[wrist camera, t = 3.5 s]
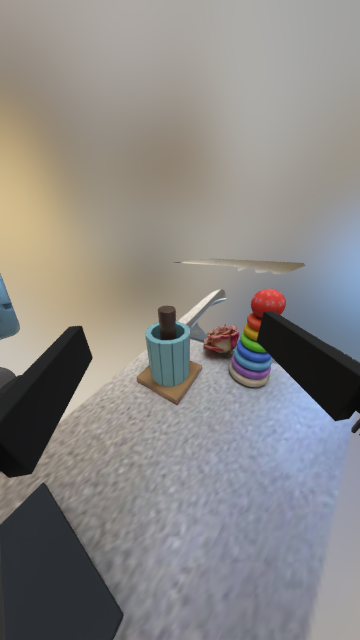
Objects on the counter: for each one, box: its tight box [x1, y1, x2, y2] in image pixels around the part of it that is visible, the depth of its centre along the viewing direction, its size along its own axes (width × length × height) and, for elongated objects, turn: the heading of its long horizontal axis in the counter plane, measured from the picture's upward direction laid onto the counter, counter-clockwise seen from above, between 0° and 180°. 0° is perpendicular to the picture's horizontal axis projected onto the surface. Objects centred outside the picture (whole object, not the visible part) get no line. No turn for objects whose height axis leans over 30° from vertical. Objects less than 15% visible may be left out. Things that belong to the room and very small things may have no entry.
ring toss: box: [137, 306, 202, 405], centre depth 31 cm, size 10×10×16 cm
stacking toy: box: [229, 289, 286, 387], centre depth 30 cm, size 8×8×19 cm
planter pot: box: [145, 321, 190, 387], centre depth 31 cm, size 8×8×10 cm
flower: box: [204, 325, 239, 357], centre depth 39 cm, size 10×9×8 cm
